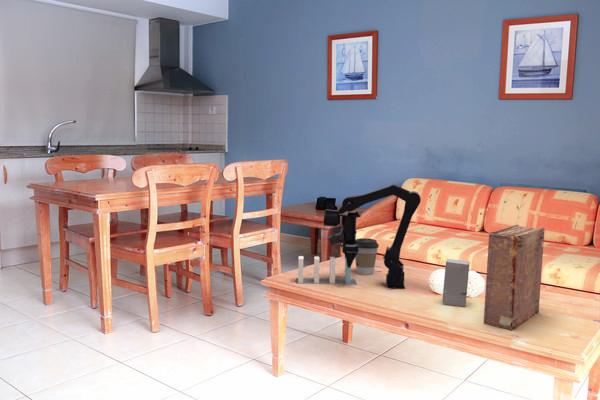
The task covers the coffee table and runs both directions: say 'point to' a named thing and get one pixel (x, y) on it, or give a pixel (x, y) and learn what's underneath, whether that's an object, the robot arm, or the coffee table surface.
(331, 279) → the ivory domino
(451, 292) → the skincare box
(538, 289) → the book
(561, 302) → the coffee table surface
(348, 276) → the teal domino
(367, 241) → the coffee cup
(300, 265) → the ivory end domino
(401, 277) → the robot arm
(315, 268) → the ivory domino
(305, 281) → the mat
